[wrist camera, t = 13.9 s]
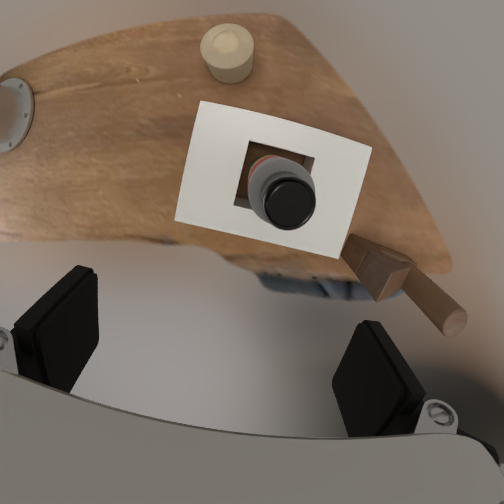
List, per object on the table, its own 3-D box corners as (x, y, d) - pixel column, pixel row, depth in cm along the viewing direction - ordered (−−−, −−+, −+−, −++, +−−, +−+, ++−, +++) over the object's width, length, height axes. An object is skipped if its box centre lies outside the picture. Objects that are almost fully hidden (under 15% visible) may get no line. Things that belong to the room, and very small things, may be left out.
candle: (222, 40, 33) (215, 11, 24) (260, 57, 34) (264, 31, 25) (202, 73, 35) (188, 52, 25) (239, 91, 36) (237, 74, 26)
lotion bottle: (261, 146, 38) (274, 147, 19) (299, 168, 39) (346, 190, 20) (240, 184, 40) (232, 221, 21) (278, 205, 41) (303, 259, 22)
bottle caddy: (184, 209, 41) (174, 220, 35) (207, 107, 36) (200, 100, 31) (326, 243, 43) (338, 258, 37) (355, 146, 38) (372, 147, 32)
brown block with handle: (349, 232, 42) (407, 289, 25) (407, 255, 43) (474, 313, 27) (339, 256, 43) (388, 322, 26) (397, 277, 45) (458, 341, 28)
